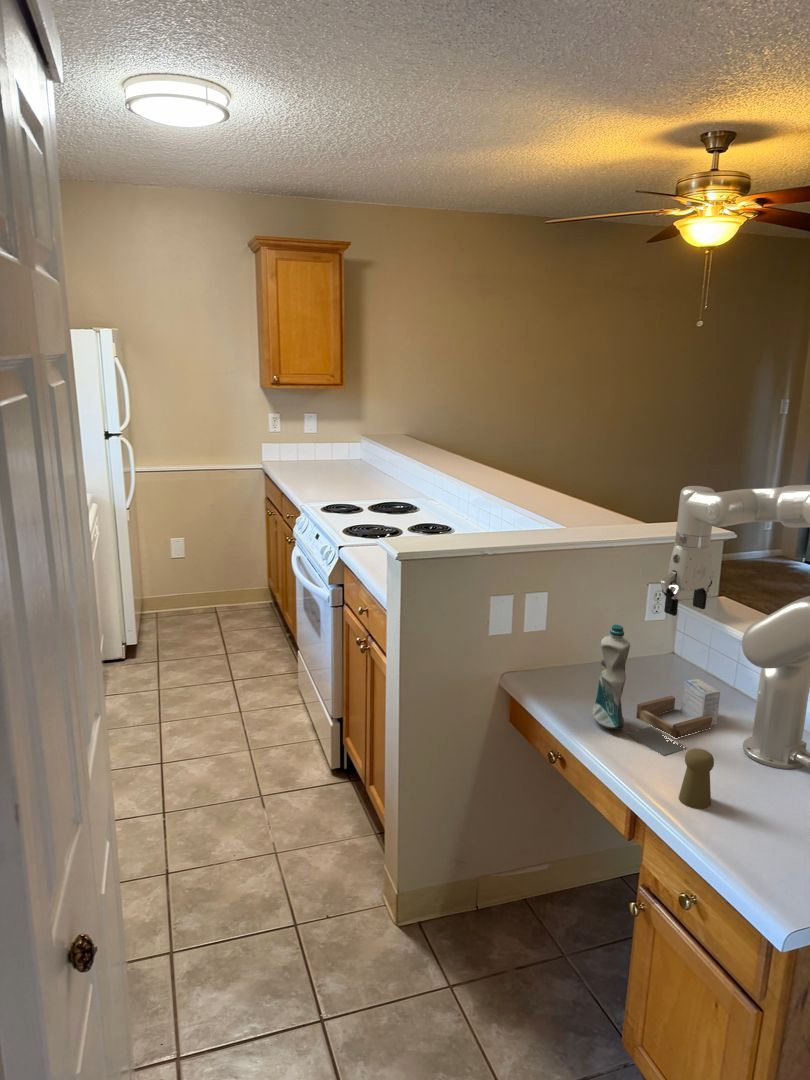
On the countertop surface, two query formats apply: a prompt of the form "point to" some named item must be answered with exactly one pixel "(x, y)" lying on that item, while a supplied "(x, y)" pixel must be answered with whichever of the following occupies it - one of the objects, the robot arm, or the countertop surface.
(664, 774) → the countertop surface
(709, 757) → the olive pawn figure
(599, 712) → the detergent
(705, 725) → the frame
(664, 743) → the stand pad
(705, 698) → the medicine box
